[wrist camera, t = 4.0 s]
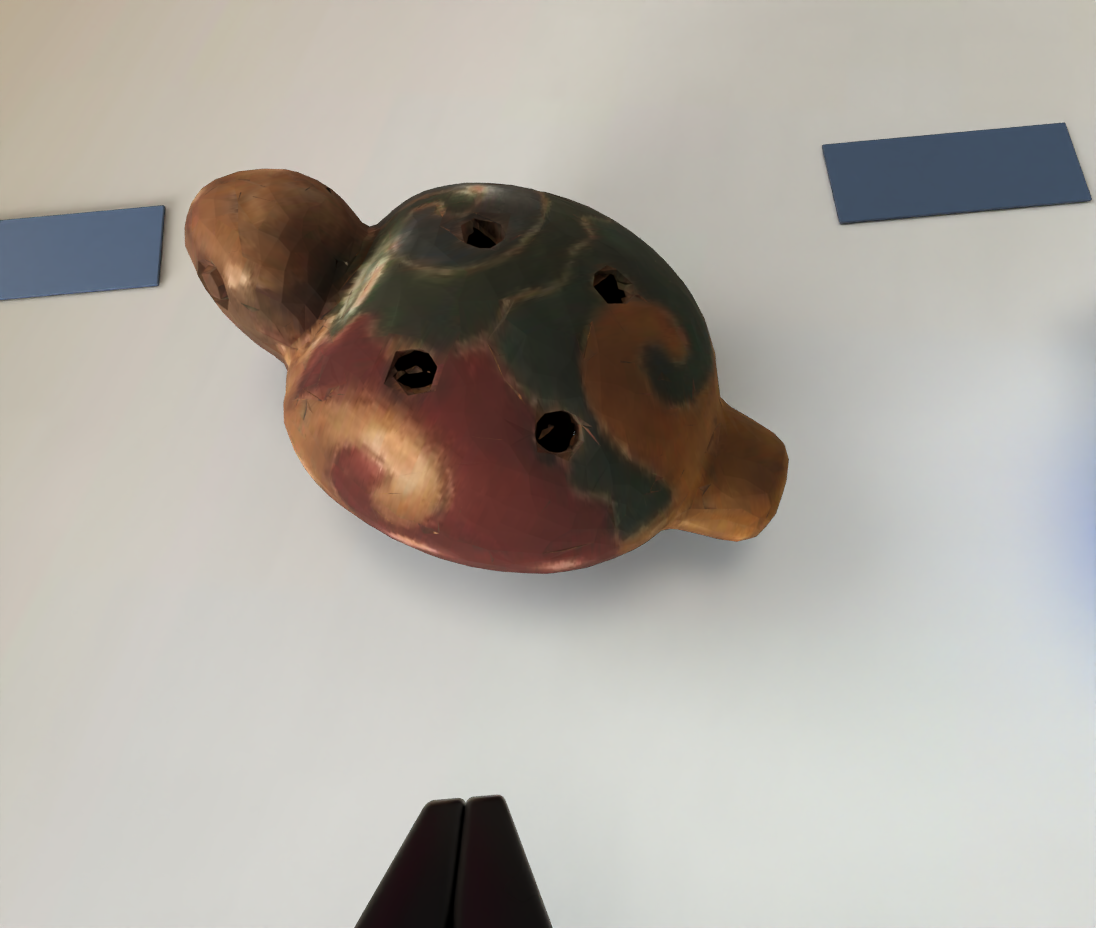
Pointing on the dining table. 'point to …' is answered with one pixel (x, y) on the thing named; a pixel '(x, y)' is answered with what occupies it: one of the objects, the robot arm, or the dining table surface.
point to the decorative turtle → (487, 370)
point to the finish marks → (854, 167)
